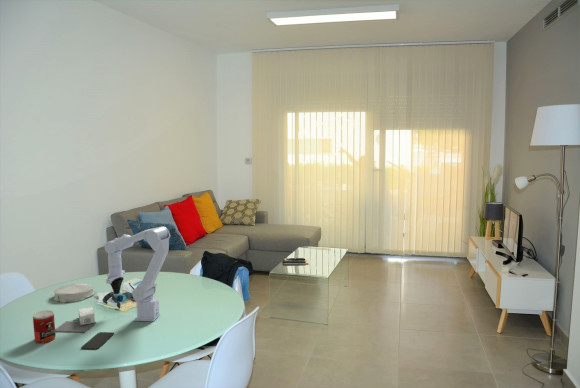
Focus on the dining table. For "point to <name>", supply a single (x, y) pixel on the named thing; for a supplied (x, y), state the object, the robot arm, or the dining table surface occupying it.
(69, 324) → the mat
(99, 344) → the phone
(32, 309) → the dining table surface
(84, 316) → the skincare box
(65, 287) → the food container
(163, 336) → the dining table surface
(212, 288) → the dining table surface
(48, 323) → the canned food
